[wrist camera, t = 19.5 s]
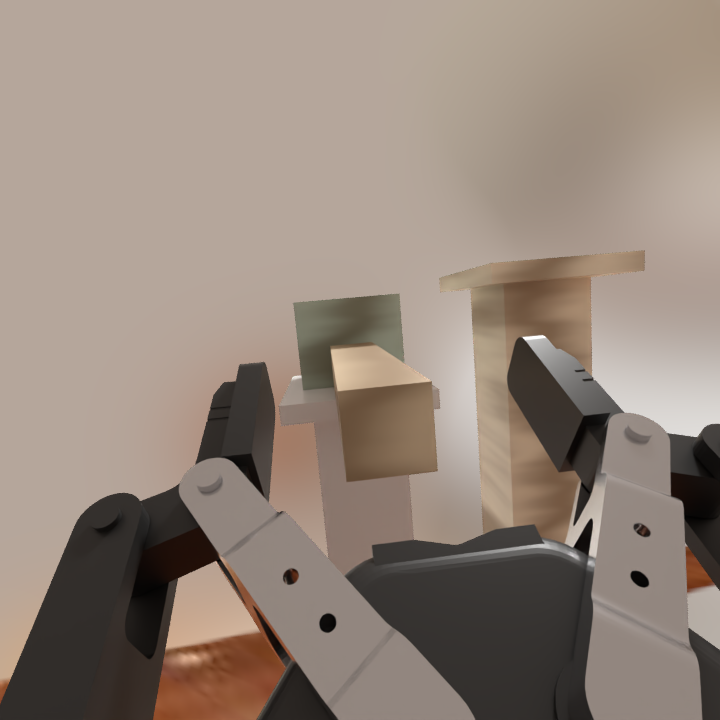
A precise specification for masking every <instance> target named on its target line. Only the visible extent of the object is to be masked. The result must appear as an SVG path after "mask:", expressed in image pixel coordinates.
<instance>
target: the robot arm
mask: <svg viewBox="0 0 720 720" xmlns="http://www.w3.org/2000/svg"><path fill="white" fill-rule="evenodd" d="M507 385H508V389H509V391H510V393H511V395H512V397H513V398H514V400H515V402H516V403H517V405H518V407H519V408H520V410H521V411H522V413H523V415H524V416H525V418H526V420H527V421H528V423H529V425H530V426H531V428H532V429H533V431H534V433H535V434H536V436H537V438H538V439H539V441H540V443H541V444H542V446H543V447H544V449H545V451H546V452H547V454H548V456H549V457H550V459H551V461H552V462H553V464H554V465H555V467H556V469H557V470H558V472H568V471H575V472H576V473H577V475H578V477H579V478H580V480H579V482H578V485H577V490H576V495H575V500H574V505H573V510H572V515H571V520H570V525H569V530H568V535H567V538H566V541H565V544H564V543H561V542H559V541H556V540H552V539H548V538H543V537H541V536H540V534H539V532H538V530H537V528H536V526H535V524H532V525H524V526H516V527H508V528H501V529H495V530H492V531H490V532H488V533H485V534H483V535H481V536H478V537H476V538H474V539H472V540H469V541H467V542H465V543H463V544H459V545H450V544H441V543H434V542H426V541H418V540H407V541H399V542H392V543H384V544H376V545H372V558H370V559H368V560H365V561H363V562H362V563H360V564H358V565H357V566H355V567H354V568H352V569H351V570H350V571H349V572H347V573H346V574H345V575H343V574H342V573H341V572H340V571H339V570H338V569H337V568H336V566H335V565H334V564H333V563H332V562H331V561H330V560H329V559H328V558H327V557H326V555H325V554H324V553H323V552H322V551H321V550H320V549H319V548H318V547H317V545H316V544H315V543H314V542H313V541H312V540H311V539H310V538H309V537H308V535H307V534H306V533H305V532H304V531H303V530H302V529H301V528H300V527H299V526H298V524H297V523H296V522H295V521H294V520H293V519H292V518H291V517H290V516H289V515H288V514H287V513H286V512H283V511H281V512H280V513H279V512H277V511H276V510H275V509H274V508H273V507H272V506H271V505H270V504H269V493H270V479H271V466H272V453H273V439H274V426H275V405H274V398H273V393H272V389H271V385H270V380H269V376H268V372H267V367H266V364H265V363H264V362H261V363H249V364H240V365H239V369H238V374H237V379H236V381H235V382H224V383H223V384H222V385H221V386H220V388H219V389H218V390H217V391H216V393H215V394H214V396H213V399H212V403H211V407H210V411H209V415H208V422H206V426H205V430H204V434H203V438H202V442H201V446H200V450H199V453H198V457H197V461H196V464H195V465H194V466H193V467H192V468H190V469H189V470H188V471H187V472H186V474H185V475H184V476H183V478H182V480H181V482H180V484H178V485H177V486H176V487H174V488H172V489H170V490H168V491H166V492H163V493H161V494H158V495H156V496H153V497H150V498H147V499H145V500H142V501H139V499H138V498H137V497H136V496H134V495H132V494H128V493H117V494H113V495H110V496H107V497H105V498H102V499H100V500H99V501H97V502H96V503H94V504H93V505H92V506H90V507H89V508H88V509H87V510H86V511H85V512H84V513H83V514H82V515H81V516H80V518H79V519H78V521H77V522H76V524H75V526H74V529H73V531H72V534H71V536H70V538H69V541H68V543H67V546H66V548H65V550H64V553H63V555H62V558H61V560H60V562H59V565H58V567H57V570H56V572H55V574H54V577H53V579H52V581H51V584H50V586H49V589H48V591H47V594H46V596H45V598H44V601H43V603H42V605H41V608H40V610H39V613H38V615H37V618H36V620H35V622H34V625H33V627H32V630H31V632H30V634H29V637H28V639H27V641H26V644H25V646H24V649H23V651H22V653H21V656H20V658H19V661H18V663H17V665H16V668H15V670H14V673H13V675H12V677H11V680H10V682H9V685H8V687H7V689H6V692H5V694H4V697H3V699H2V701H1V704H0V720H153V716H154V710H155V704H156V699H157V693H158V688H159V682H160V676H161V671H162V665H163V659H164V654H165V648H166V643H167V637H168V631H169V626H170V620H171V614H172V608H173V603H174V597H175V592H176V586H177V581H178V578H179V577H182V576H184V575H186V574H188V573H190V572H193V571H195V570H197V569H199V568H201V567H204V566H206V565H208V564H210V563H212V562H216V564H217V565H218V567H219V568H220V570H221V571H222V573H223V574H224V576H225V577H226V579H227V580H228V582H229V583H230V585H231V586H232V588H233V589H234V590H235V592H236V594H237V595H238V597H239V598H240V599H241V601H242V603H243V604H244V606H245V607H246V609H247V610H248V612H249V613H250V615H251V617H252V618H253V620H254V622H255V623H256V625H257V626H258V628H259V630H260V632H261V633H262V635H263V636H264V638H265V640H266V641H267V643H268V644H269V646H270V647H271V649H272V650H273V652H274V653H275V655H276V656H277V658H278V659H279V661H280V662H281V664H282V665H283V667H284V668H285V671H284V673H283V675H282V676H281V678H280V680H279V682H278V683H277V685H276V687H275V688H274V690H273V692H272V694H271V695H270V697H269V699H268V701H267V702H266V704H265V706H264V708H263V709H262V711H261V713H260V715H259V716H258V718H257V720H720V650H719V649H718V648H716V647H715V646H713V645H712V644H711V643H709V642H708V641H706V640H705V639H704V638H702V637H701V636H699V635H698V634H697V633H695V632H694V631H692V630H691V629H690V628H688V608H687V581H686V555H685V543H686V544H687V546H688V547H689V549H690V550H691V551H692V553H693V554H694V556H695V557H696V558H697V560H698V561H699V563H700V564H701V565H702V567H703V568H704V570H705V571H706V572H707V574H708V575H709V577H710V578H711V579H712V581H713V582H714V583H715V585H716V586H717V588H718V589H719V590H720V424H711V425H708V426H706V427H705V428H704V429H703V430H702V432H701V433H700V434H699V436H698V437H690V436H683V435H676V434H669V433H666V432H665V430H664V429H663V428H662V427H661V426H660V425H658V424H657V423H655V422H654V421H652V420H650V419H648V418H646V417H644V416H641V415H637V414H632V413H624V412H623V411H622V410H621V408H620V407H619V406H618V405H617V404H616V403H615V402H614V401H613V399H612V398H611V397H610V396H609V395H608V394H607V393H606V392H605V391H604V389H603V388H602V387H601V386H600V385H599V384H598V383H597V382H596V381H594V380H593V377H592V376H591V375H590V374H589V373H588V371H585V368H584V367H583V366H582V365H581V364H580V363H579V361H578V360H577V359H576V358H575V357H573V356H571V355H570V354H568V353H566V352H565V351H563V350H561V349H556V348H555V347H554V346H553V345H552V344H551V342H550V341H549V340H548V339H547V338H546V337H545V336H543V335H538V336H527V337H519V338H518V339H517V340H516V342H515V345H514V349H513V353H512V357H511V361H510V365H509V369H508V373H507Z"/></svg>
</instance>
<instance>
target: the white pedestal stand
mask: <svg viewBox="0 0 720 720" xmlns="http://www.w3.org/2000/svg"><path fill="white" fill-rule="evenodd" d="M432 393H433V408H434V409H440V399H439V389H438V388H436V387H435V386H433V385H432ZM279 411H280V419H281V426H285V425H294V424H303V423H313V422H314V427H315V435H316V445H317V455H318V464H319V474H320V483H321V491H322V502H323V511H324V520H325V530H326V539H327V549H328V557H329V558H328V559H329V560H330V561H331V562H332V563H333V564H334V565H335V566H336V568H337V569H338V570H339V571H340V572H341V573H342V574H343V575H345V574H346V573H347V572H349V571H350V570H351V569H352V568H354V567H355V566H357V565H358V564H360V563H362V562H363V561H365V560H368V559H370V558H372V545H376V544H384V543H392V542H399V541H407V540H414V537H413V523H412V510H411V497H410V483H409V475H403V476H395V477H386V478H378V479H370V480H362V481H354V482H346V475H345V467H344V459H343V451H342V444H341V436H340V428H339V420H338V413H337V405H336V397H335V389H334V387H331V388H321V389H312V390H303V386H302V377H301V376H294V377H293V378H292V380H291V382H290V384H289V386H288V389H287V391H286V393H285V395H284V397H283V399H282V401H281V403H280V405H279Z"/></svg>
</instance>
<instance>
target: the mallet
mask: <svg viewBox="0 0 720 720" xmlns="http://www.w3.org/2000/svg"><path fill="white" fill-rule="evenodd" d="M294 311H295V321H296V330H297V339H298V349H299V358H300V367H301V377H302V386H303V390H312V389H321V388H331V387H334V389H335V397H336V405H337V413H338V420H339V428H340V436H341V444H342V451H343V459H344V467H345V475H346V482H354V481H362V480H370V479H378V478H386V477H395V476H403V475H411V474H419V473H427V472H435V471H438V469H437V454H436V439H435V424H434V408H433V393H432V381H430V380H429V379H427V378H426V377H424V376H423V375H421V374H420V373H418V372H417V371H415V370H414V369H412V368H411V367H409V366H408V365H406V364H405V363H404V351H403V337H402V324H401V311H400V297H399V294H390V295H378V296H367V297H355V298H344V299H332V300H321V301H309V302H298V303H294Z"/></svg>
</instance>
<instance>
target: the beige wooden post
mask: <svg viewBox="0 0 720 720" xmlns="http://www.w3.org/2000/svg"><path fill="white" fill-rule="evenodd" d="M644 252H645V251H632V252H619V253H608V254H595V255H584V256H571V257H559V258H547V259H536V260H523V261H511V262H499V263H490V264H486V265H483V266H479V267H476V268H472V269H469V270H465V271H462V272H459V273H455V274H451V275H448V276H444V277H441V278H439V280H440V292H446V291H459V290H470V289H471V305H472V325H473V344H474V363H475V383H476V401H477V421H478V441H479V460H480V479H481V498H482V518H483V534H485V533H488V532H490V531H492V530H495V529H501V528H508V527H516V526H524V525H532V524H535V526H536V528H537V530H538V532H539V534H540V536H541V537H543V538H548V539H552V540H556V541H559V542H561V543H564V544H565V541H566V538H567V535H568V530H569V525H570V520H571V515H572V510H573V505H574V500H575V495H576V490H577V485H578V482H579V480H580V478H579V477H578V475H577V473H576V472H575V471H568V472H558V470H557V469H556V467H555V465H554V464H553V462H552V461H551V459H550V457H549V456H548V454H547V452H546V451H545V449H544V447H543V446H542V444H541V443H540V441H539V439H538V438H537V436H536V434H535V433H534V431H533V429H532V428H531V426H530V425H529V423H528V421H527V420H526V418H525V416H524V415H523V413H522V411H521V410H520V408H519V407H518V405H517V403H516V402H515V400H514V398H513V397H512V395H511V393H510V391H509V389H508V385H507V373H508V369H509V365H510V361H511V357H512V353H513V349H514V345H515V342H516V340H517V339H518V338H519V337H527V336H538V335H543V336H545V337H546V338H547V339H548V340H549V341H550V342H551V344H552V345H553V346H554V347H555V348H556V349H561V350H563V351H565V352H566V353H568V354H570V355H571V356H573V357H575V358H576V359H577V360H578V361H579V363H580V364H581V365H582V366H583V367H584V368H585V371H588V373H589V374H590V375H591V376H592V342H591V277H597V276H605V275H613V274H620V273H629V272H637V271H644V263H645V262H644V261H645V253H644Z"/></svg>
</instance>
